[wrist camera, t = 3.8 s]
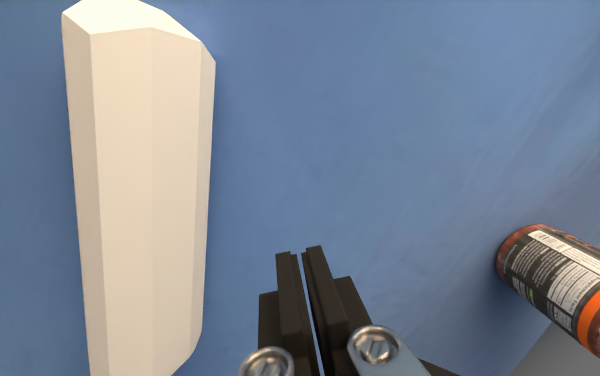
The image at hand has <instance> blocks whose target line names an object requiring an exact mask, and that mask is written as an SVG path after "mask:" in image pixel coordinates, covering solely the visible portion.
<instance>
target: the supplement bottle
mask: <svg viewBox="0 0 600 376" xmlns="http://www.w3.org/2000/svg"><path fill="white" fill-rule="evenodd" d="M496 267H497V271H498V274H499V276H500V278H501V279H502V280H503V281H504V282H505V283H506V284H507V285H508V286H509V287H510V288H512V289H513V290H514V291H515V292H517V293H518V294H519V295H520V296H522V297H523V298H524V299H525V300H527V301H528V302H529V303H530V304H532V305H533V306H534V307H535V308H537V309H538V310H539V311H540V312H542V313H543V314H544V315H545V316H547V317H548V318H549V319H550V320H551V321H553V322H554V323H555V324H556V325H558V326H559V327H560V328H562V329H563V330H564V331H565V332H566V333H568V334H569V335H570V336H572V337H573V338H574V339H575V340H576V341H578V342H579V343H580V344H581V345H583V346H584V347H585V348H587V349H588V350H589V351H590V352H591V353H593V354H594V355H596V356H597V357H598V358H600V249H598V248H596V247H594V246H591V245H589V244H588V243H585V242H583V241H581V240H579V239H577V238H575V237H572V236H571V235H569V234H567V233H564V232H562V231H560V230H558V229H555V228H553V227H550V226H547V225H539V224H535V225H530V226H527V227H524V228H522V229H519V230H518V231H516V232H515V233H513V234H511V236H509V238H508V239H507V240H506V241H505V242H504V243H503V245H502V246H501V248H500V250H499V251H498V255H497V261H496Z"/></svg>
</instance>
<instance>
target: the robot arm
mask: <svg viewBox="0 0 600 376" xmlns="http://www.w3.org/2000/svg"><path fill="white" fill-rule="evenodd" d="M301 256H302V261H303V267H304V273H305V278H306V284H307V290H308V295H309V301H310V307H311V312H312V318H313V323H314V327H315V332H316V337H317V341H318V346H319V350H320V355H321V360H322V364H323V369H324V374H325V376H460V375H457V374H455V373H453V372H450V371H448V370H445V369H443V368H441V367H438V366H436V365H433V364H431V363H429V362H426V361H424V360H421V359H419V358H417V357H416V356H415V354H414V353H413V352H412V351H411V349H410V348H409V347H408V345H407V344H406V343H405V342H404V340H403V339H402V338H401V337H400V336H399V335H398V334H397V333H396V332H395V331H394V330H392V329H390V328H388V327H385V326H381V325H373V324H372V322H371V320H370V317H369V315H368V313H367V311H366V309H365V307H364V305H363V303H362V300H361V298H360V296H359V294H358V292H357V290H356V288H355V286H354V283H353V281H352V279H351V277H350V276H347V277H342V278H337V279H333V277H332V275H331V272H330V269H329V267H328V264H327V261H326V258H325V256H324V253H323V250H322V248H321V245H319V246H314V247H309V248H306V252H304V253H301ZM276 269H277V283H278V291H273V292H269V293H264V294H260V295H259V326H258V350H256V351H254V352H253V353H251V354H250V355H249V356H248V357H247V358H246V359H245V360H244V361H243V363H242V364H241V366H240V368H239V371H238V374H237V376H320V373H319V367H318V362H317V356H316V351H315V345H314V340H313V334H312V329H311V324H310V319H309V314H308V309H307V304H306V299H305V294H304V289H303V284H302V279H301V274H300V269H299V264H298V259H297V254H294V255H291V254H290V251H288V252H283V253H278V254H276Z"/></svg>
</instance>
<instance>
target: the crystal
mask: <svg viewBox="0 0 600 376" xmlns="http://www.w3.org/2000/svg"><path fill="white" fill-rule="evenodd" d="M61 25H62V38H63V50H64V62H65V75H66V87H67V99H68V112H69V124H70V136H71V148H72V161H73V173H74V185H75V198H76V210H77V222H78V235H79V247H80V259H81V272H82V284H83V296H84V309H85V321H86V333H87V345H88V357H89V366H90V375H91V376H171V375H172V374H173V373H174V372H175V371H176V370H177V369H178V368H179V367H180V366H181V365H182V364H183V363H184V362H185V361H186V360H187V359H188V358H189V357H190V356H191V355H192V353H193V352H194V350H195V347H196V345H197V342H198V340H199V337H200V335H201V332H202V316H203V297H204V278H205V258H206V239H207V220H208V201H209V181H210V162H211V143H212V124H213V104H214V85H215V66H216V62H215V61H214V59H213V58H212V56H211V55H210V53H209V52H208V50H207V49H206V47H205V46H204V44H203V43H202V42H201V41H200V40H199V39H197V38H196V37H195V36H194V35H192V34H191V33H190V32H189V31H187V30H186V29H185V28H184V27H182V26H181V25H180V24H179V23H178V22H176V21H175V20H174V19H173V18H171V17H170V16H169V15H168V14H166V13H165V12H164V11H161V10H159V9H157V8H154V7H152V6H150V5H147V4H145V3H143V2H141V1H138V0H82V1H80V2H79V3H77V4H75V5H74V6H72V7H70V8H69V9H67V10H66V11H64V12H62V17H61Z"/></svg>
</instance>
